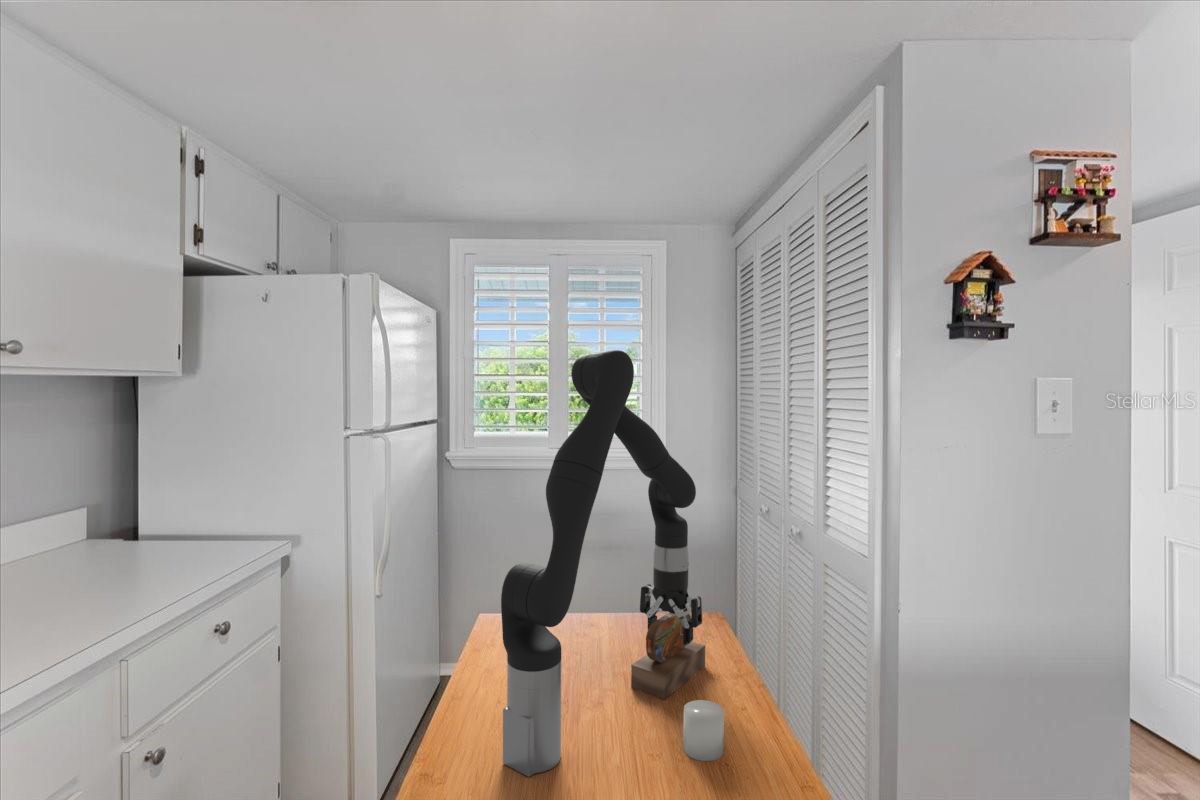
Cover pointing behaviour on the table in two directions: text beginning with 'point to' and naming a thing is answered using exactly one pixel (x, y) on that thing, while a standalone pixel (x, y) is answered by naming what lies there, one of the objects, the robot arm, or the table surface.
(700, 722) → the white rounded capsule
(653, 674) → the brown rectangular block
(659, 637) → the tin
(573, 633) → the table surface
